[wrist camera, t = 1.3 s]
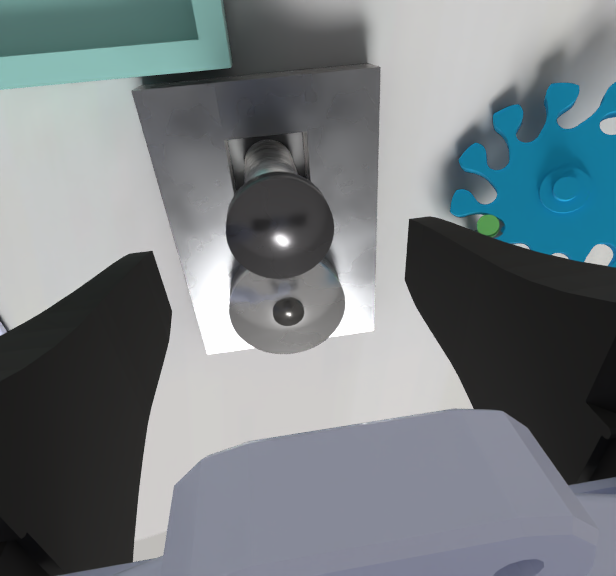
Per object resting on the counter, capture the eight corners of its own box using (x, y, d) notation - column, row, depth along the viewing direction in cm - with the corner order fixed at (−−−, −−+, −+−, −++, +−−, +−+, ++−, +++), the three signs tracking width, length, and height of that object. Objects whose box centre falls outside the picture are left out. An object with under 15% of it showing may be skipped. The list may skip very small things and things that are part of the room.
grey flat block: (209, 332, 25) (204, 377, 22) (142, 84, 17) (119, 97, 14) (365, 311, 26) (382, 350, 23) (368, 63, 18) (393, 70, 15)
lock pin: (238, 202, 21) (236, 285, 14) (225, 130, 19) (215, 186, 12) (307, 194, 21) (336, 271, 14) (301, 122, 19) (332, 172, 12)
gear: (614, 21, 17) (785, 213, 15) (587, 82, 22) (710, 230, 20) (393, 182, 21) (501, 350, 19) (414, 201, 26) (501, 334, 24)
